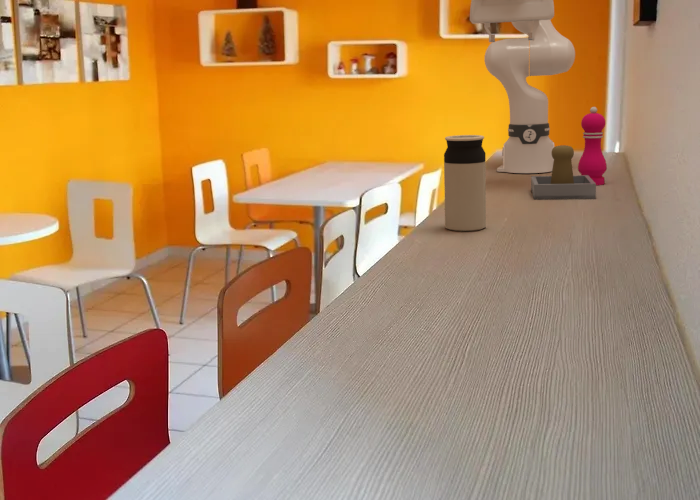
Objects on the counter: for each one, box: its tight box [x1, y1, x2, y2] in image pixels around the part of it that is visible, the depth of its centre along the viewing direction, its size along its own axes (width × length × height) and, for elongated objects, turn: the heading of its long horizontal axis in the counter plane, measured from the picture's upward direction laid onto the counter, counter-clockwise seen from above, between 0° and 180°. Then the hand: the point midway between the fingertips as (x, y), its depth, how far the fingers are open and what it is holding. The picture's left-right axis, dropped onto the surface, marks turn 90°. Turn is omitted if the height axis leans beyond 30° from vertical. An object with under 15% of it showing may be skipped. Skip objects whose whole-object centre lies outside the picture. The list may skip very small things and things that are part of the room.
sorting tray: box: [530, 174, 597, 201], centre depth 198 cm, size 16×14×4 cm
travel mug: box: [443, 134, 487, 232], centre depth 159 cm, size 8×8×18 cm
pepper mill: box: [577, 106, 608, 187], centre depth 211 cm, size 7×7×20 cm
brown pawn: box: [550, 144, 575, 184], centre depth 197 cm, size 6×6×11 cm
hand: (511, 41), depth 199 cm, fingers open, 8 cm apart
